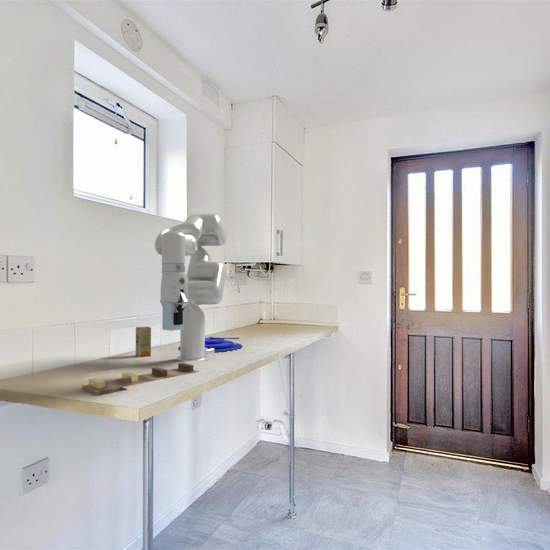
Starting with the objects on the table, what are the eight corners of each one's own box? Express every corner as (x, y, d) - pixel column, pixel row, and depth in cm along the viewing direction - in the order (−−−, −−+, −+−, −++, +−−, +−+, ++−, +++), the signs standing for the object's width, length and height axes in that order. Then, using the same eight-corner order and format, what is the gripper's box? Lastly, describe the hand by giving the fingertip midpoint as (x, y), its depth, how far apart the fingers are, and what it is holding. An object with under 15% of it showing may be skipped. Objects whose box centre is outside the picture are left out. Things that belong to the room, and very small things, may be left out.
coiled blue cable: (167, 337, 189) (218, 331, 210) (166, 348, 189) (218, 342, 210) (202, 343, 168) (255, 337, 189) (202, 356, 168) (255, 348, 188)
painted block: (175, 328, 135) (175, 301, 135) (184, 329, 131) (184, 302, 131) (162, 329, 131) (162, 302, 131) (170, 330, 127) (170, 302, 128)
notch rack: (182, 370, 139) (182, 361, 139) (199, 374, 132) (199, 365, 132) (82, 389, 114) (82, 378, 114) (97, 395, 107) (97, 384, 107)
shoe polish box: (138, 357, 164) (139, 328, 164) (135, 355, 168) (135, 327, 168) (150, 356, 166) (150, 327, 167) (147, 354, 171) (147, 326, 171)
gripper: (198, 268, 128) (198, 325, 128) (169, 270, 140) (168, 321, 140) (178, 268, 123) (178, 327, 123) (149, 269, 134) (149, 323, 134)
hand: (173, 323), depth 131 cm, fingers closed on painted block, 5 cm apart
